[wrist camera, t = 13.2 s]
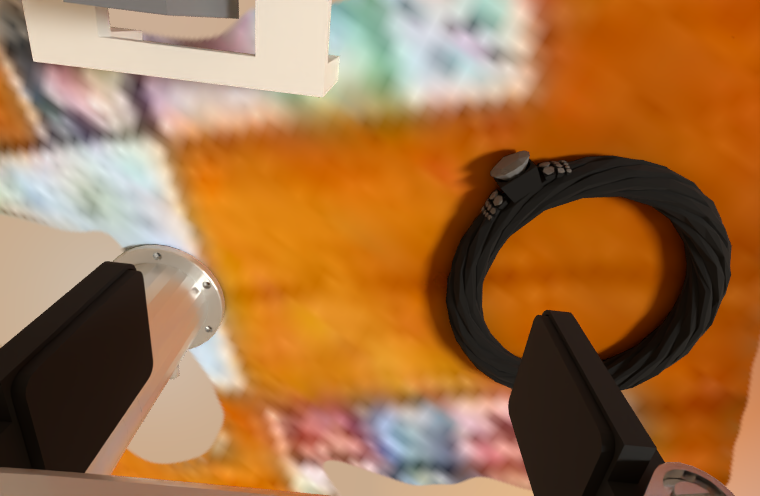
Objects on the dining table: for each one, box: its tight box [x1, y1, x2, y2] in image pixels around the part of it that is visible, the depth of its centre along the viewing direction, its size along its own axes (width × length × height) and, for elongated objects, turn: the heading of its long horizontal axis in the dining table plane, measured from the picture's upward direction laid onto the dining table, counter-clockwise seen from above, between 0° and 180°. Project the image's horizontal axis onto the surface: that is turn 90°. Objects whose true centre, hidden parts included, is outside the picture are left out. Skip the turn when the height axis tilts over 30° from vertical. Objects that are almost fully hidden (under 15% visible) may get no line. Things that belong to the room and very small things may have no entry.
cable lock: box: [446, 151, 731, 390], centre depth 47 cm, size 28×4×30 cm
